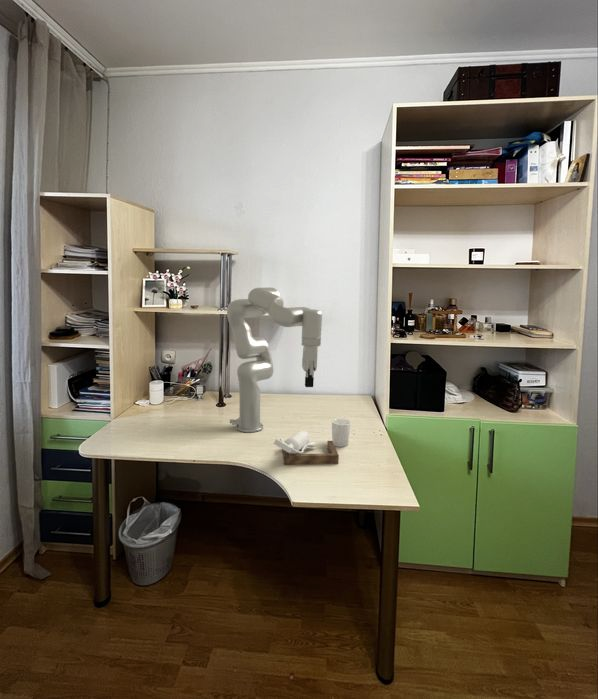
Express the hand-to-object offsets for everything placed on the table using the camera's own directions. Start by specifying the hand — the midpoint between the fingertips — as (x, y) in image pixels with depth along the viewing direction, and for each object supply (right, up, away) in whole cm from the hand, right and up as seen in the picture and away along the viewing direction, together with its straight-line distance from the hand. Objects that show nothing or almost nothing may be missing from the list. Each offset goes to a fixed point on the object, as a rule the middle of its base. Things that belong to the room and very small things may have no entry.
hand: (309, 386), depth 183 cm
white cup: (+14, -26, +15) cm, 33 cm away
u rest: (0, -28, +1) cm, 28 cm away
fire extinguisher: (-2, -23, +12) cm, 26 cm away
